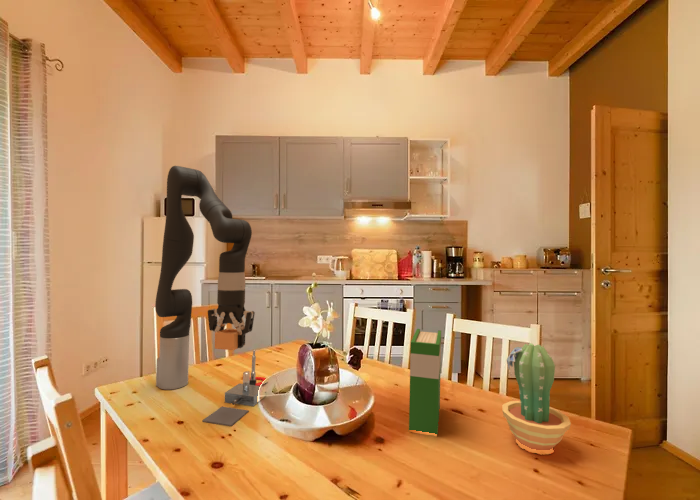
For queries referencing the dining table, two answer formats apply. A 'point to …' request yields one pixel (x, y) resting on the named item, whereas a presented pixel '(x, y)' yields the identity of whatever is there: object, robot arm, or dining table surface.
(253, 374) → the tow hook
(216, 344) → the link
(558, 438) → the potted cactus
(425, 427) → the hardback book
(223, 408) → the pad
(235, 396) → the vise block
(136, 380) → the dining table surface
